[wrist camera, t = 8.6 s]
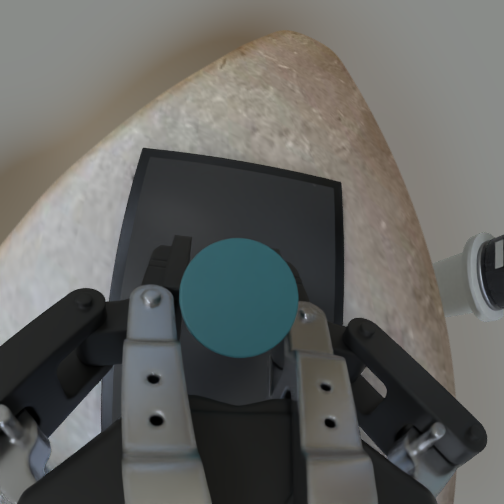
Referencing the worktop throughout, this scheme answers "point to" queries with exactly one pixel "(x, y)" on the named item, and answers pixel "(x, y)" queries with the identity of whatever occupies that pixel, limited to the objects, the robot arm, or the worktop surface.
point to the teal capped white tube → (238, 298)
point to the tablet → (220, 228)
